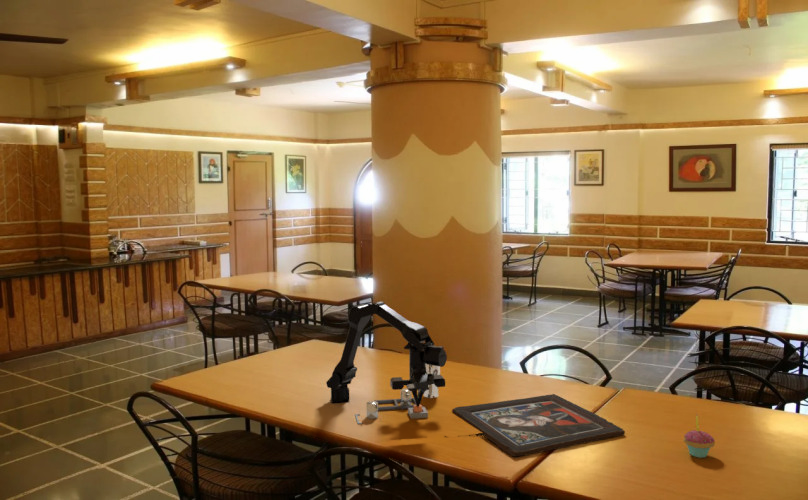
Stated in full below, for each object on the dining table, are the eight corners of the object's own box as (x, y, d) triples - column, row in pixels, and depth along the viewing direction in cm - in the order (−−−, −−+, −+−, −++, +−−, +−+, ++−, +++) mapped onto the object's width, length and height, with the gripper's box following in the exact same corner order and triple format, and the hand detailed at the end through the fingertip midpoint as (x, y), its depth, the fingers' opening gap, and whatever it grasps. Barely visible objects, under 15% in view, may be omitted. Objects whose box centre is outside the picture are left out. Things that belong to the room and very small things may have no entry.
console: (411, 422, 220) (411, 413, 220) (408, 416, 226) (408, 407, 226) (428, 421, 221) (427, 412, 221) (424, 415, 227) (424, 406, 227)
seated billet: (401, 408, 231) (401, 392, 231) (399, 404, 235) (399, 389, 235) (412, 407, 232) (412, 391, 232) (410, 404, 236) (410, 388, 235)
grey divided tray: (376, 414, 228) (376, 407, 228) (374, 407, 236) (374, 400, 236) (418, 411, 231) (418, 405, 230) (414, 404, 238) (414, 397, 238)
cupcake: (677, 449, 196) (679, 411, 195) (704, 448, 197) (705, 410, 196) (692, 461, 187) (694, 421, 186) (720, 459, 188) (721, 420, 187)
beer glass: (438, 402, 240) (438, 363, 239) (420, 401, 242) (420, 363, 240) (441, 396, 247) (441, 359, 246) (423, 395, 249) (423, 358, 247)
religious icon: (448, 416, 226) (448, 407, 226) (552, 400, 244) (552, 392, 244) (510, 460, 190) (510, 451, 189) (627, 438, 207) (627, 429, 207)
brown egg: (414, 418, 222) (414, 407, 221) (412, 415, 225) (412, 404, 224) (422, 418, 222) (422, 407, 222) (421, 415, 225) (421, 404, 225)
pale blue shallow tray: (357, 427, 216) (357, 423, 216) (355, 417, 225) (355, 414, 225) (390, 424, 218) (390, 421, 218) (386, 415, 227) (386, 412, 227)
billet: (367, 422, 219) (367, 405, 219) (366, 418, 223) (365, 401, 223) (378, 421, 220) (378, 404, 220) (377, 417, 224) (377, 400, 223)
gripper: (394, 370, 212) (395, 415, 214) (449, 367, 215) (449, 412, 217) (389, 361, 223) (390, 404, 225) (441, 358, 226) (441, 401, 228)
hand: (417, 405), depth 223 cm, fingers closed, pressing on brown egg
